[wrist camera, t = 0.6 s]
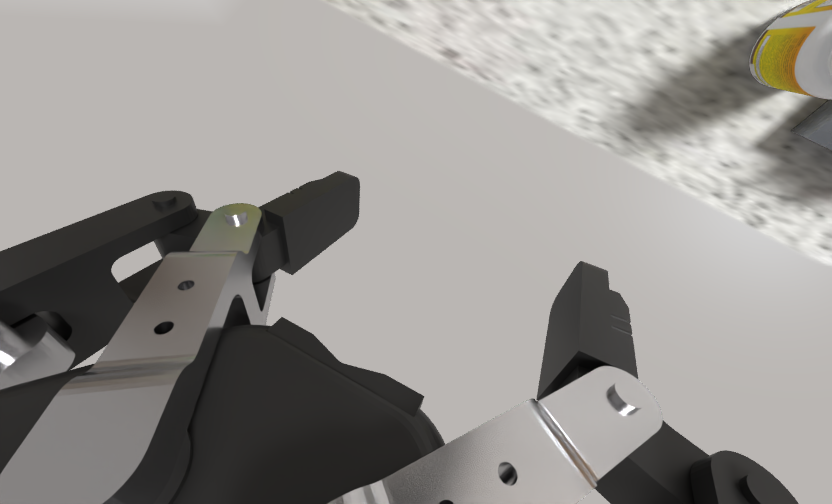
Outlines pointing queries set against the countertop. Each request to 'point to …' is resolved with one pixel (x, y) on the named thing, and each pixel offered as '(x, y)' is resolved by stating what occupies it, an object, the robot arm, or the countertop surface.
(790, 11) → the supplement bottle
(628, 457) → the robot arm
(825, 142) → the breaker panel
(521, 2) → the countertop surface
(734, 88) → the countertop surface
